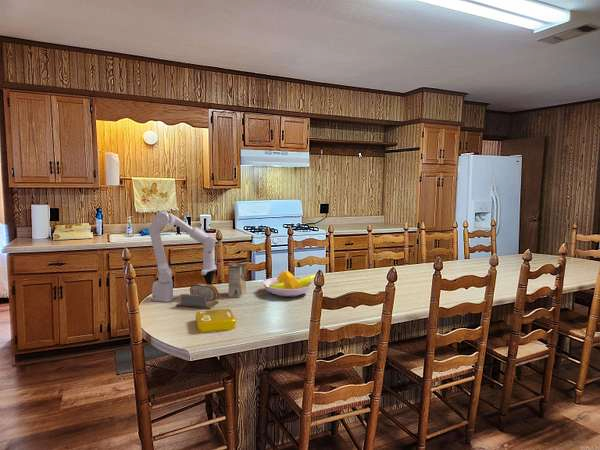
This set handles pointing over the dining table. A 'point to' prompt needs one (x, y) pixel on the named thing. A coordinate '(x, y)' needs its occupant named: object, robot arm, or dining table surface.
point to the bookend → (193, 301)
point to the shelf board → (209, 305)
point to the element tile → (215, 320)
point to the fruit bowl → (288, 284)
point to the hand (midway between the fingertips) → (209, 285)
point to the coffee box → (237, 280)
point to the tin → (204, 291)
